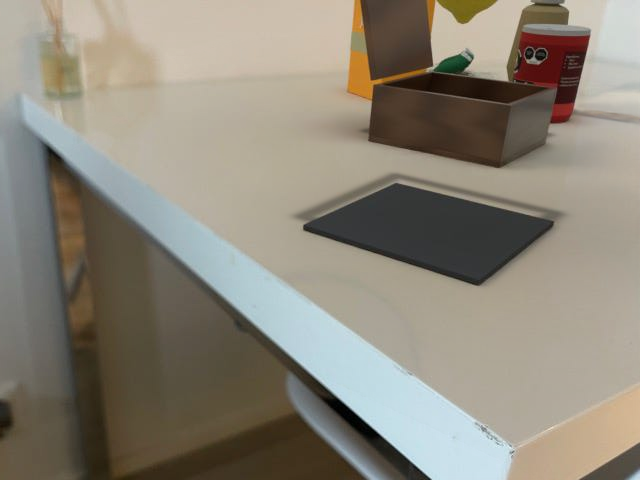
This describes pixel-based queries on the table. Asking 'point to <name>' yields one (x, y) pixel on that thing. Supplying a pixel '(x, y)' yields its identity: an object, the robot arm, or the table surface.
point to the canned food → (553, 62)
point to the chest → (462, 116)
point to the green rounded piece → (456, 63)
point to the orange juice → (359, 59)
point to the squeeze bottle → (537, 13)
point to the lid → (396, 36)
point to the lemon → (465, 8)
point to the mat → (433, 230)
